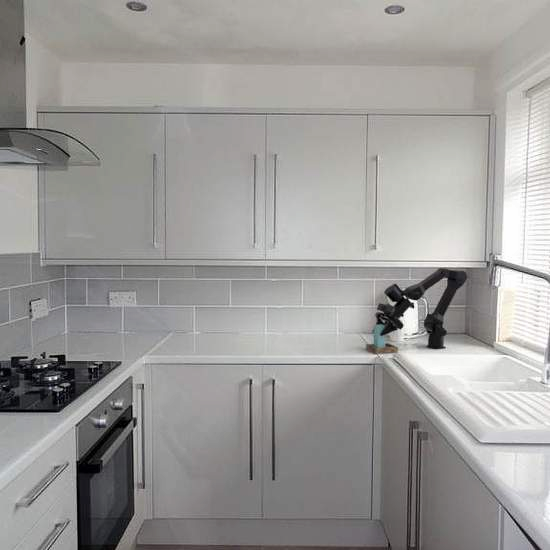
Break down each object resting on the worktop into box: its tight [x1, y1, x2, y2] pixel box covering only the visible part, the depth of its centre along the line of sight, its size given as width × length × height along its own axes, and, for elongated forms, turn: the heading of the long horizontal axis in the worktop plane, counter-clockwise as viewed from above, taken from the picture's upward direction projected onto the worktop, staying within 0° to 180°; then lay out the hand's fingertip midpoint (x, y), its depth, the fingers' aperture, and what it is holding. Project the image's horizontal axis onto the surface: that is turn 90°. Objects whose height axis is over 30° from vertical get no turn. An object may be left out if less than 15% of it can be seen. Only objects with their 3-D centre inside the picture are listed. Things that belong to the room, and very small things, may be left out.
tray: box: [365, 342, 399, 355], centre depth 237 cm, size 11×10×2 cm
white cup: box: [388, 319, 406, 343], centre depth 262 cm, size 8×8×10 cm
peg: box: [373, 324, 386, 348], centre depth 237 cm, size 4×4×12 cm
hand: (376, 333), depth 236 cm, fingers open, 7 cm apart
